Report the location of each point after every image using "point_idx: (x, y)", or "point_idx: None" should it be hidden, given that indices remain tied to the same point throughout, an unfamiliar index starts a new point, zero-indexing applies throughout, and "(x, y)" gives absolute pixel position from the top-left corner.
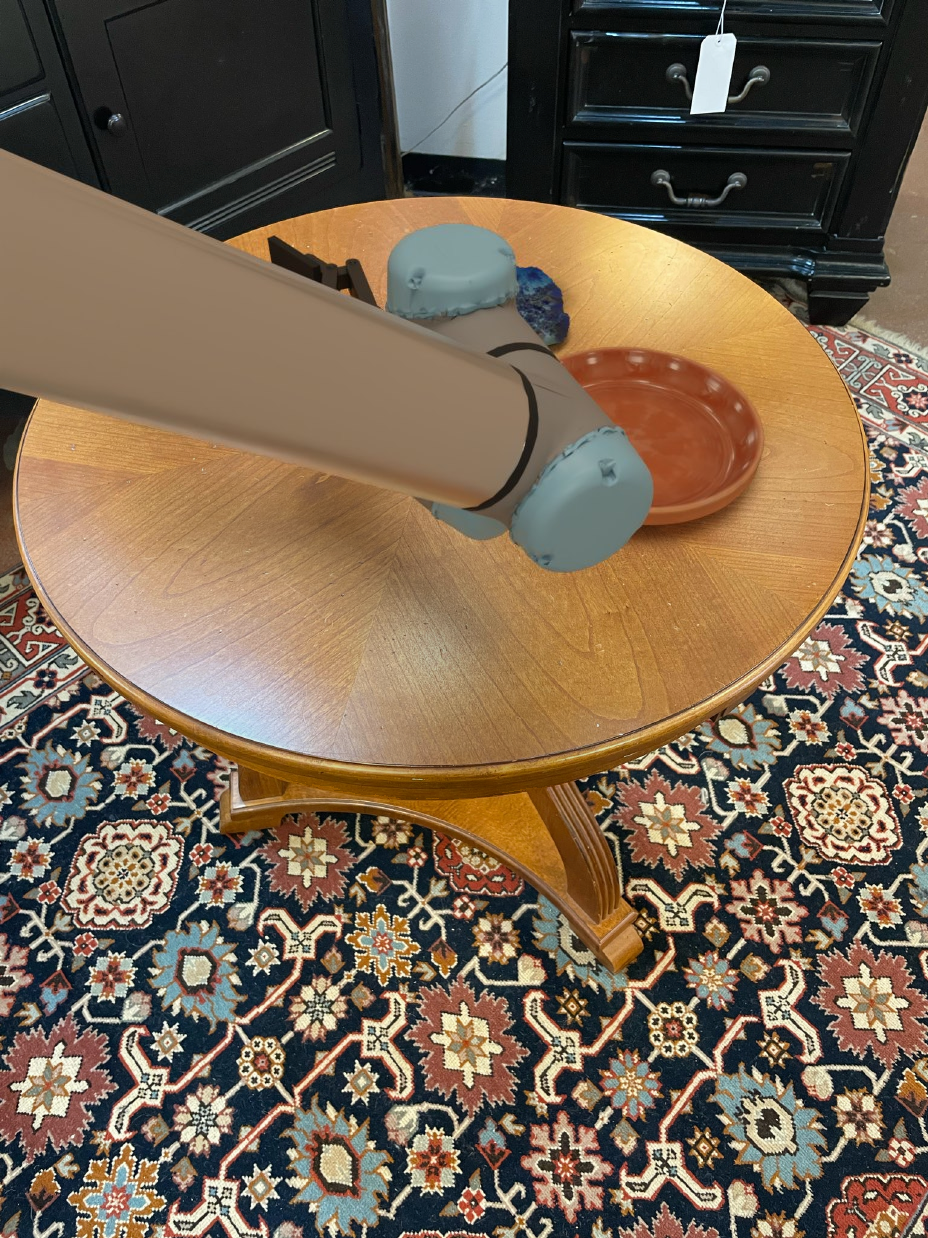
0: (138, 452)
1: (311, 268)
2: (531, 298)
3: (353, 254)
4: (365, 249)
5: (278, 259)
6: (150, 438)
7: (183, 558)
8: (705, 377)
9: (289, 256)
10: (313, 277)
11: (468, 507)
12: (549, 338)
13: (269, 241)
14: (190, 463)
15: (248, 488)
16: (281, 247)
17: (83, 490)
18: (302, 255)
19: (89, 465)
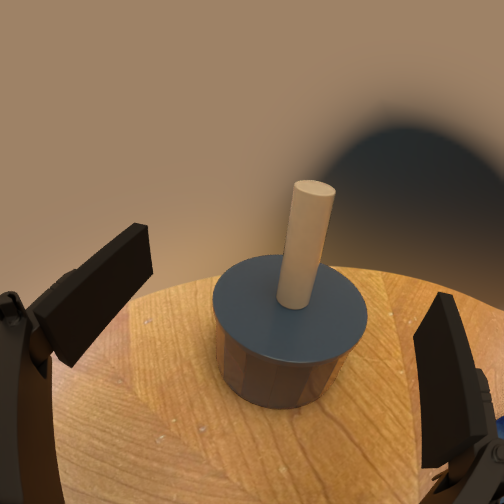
0: (160, 368)
1: (466, 433)
2: None
3: (481, 337)
4: (489, 338)
5: (428, 338)
6: (183, 367)
7: None
8: None
9: (449, 356)
10: (451, 446)
11: None
12: None
13: (437, 299)
14: (165, 420)
15: (156, 495)
16: (449, 327)
17: (100, 353)
18: (473, 377)
19: (130, 342)
